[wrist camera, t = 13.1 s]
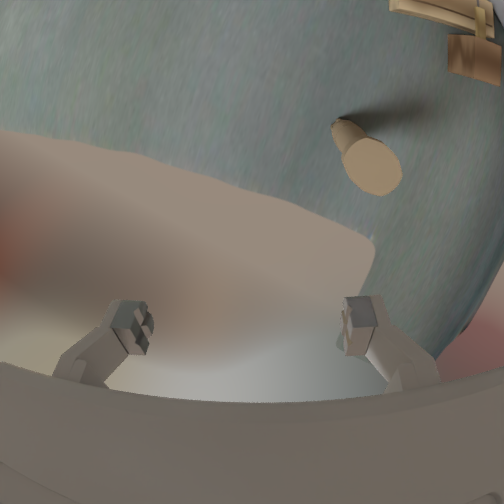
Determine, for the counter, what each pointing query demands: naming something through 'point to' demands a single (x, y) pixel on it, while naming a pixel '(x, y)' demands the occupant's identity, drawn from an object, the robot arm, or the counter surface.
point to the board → (447, 12)
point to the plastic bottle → (499, 9)
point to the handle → (366, 159)
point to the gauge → (475, 53)
